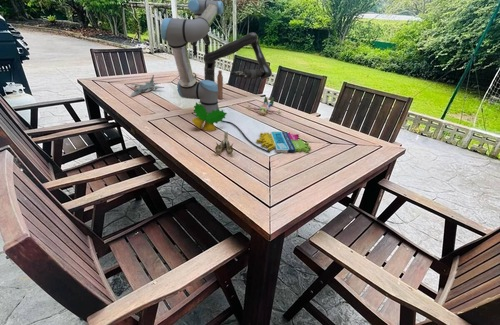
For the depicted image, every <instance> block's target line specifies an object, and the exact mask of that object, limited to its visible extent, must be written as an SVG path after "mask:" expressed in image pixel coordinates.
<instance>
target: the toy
mask: <svg viewBox="0 0 500 325" xmlns="http://www.w3.org/2000/svg"><path fill="white" fill-rule="evenodd" d="M274 100H275V98H274V97H271V98H270V101H268V97H267V96H266V95H265V96H264V99H263V104H261V105H260V107H251V106H250V105H248V106H246V110H254V111H258V112H257V113H258V114H259V115H261V116H265V115H267V112H270V113H276V114H279V115H282V113H283V111H281V109H278V110H274V109H270V107H271V106H273V105H274V102H275V101H274Z"/></svg>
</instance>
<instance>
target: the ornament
mask: <svg viewBox="0 0 500 325" xmlns="http://www.w3.org/2000/svg"><path fill="white" fill-rule="evenodd" d="M219 110H220V108H219V109H217V110H216V111H214V110H212V112H211V113H208V112H206V109H204V106H201V103H198V102H195V105H194V106H193V112H194V113H195V118H192V119H191V122H192V123H193V125H195V127H197V128H198V129H202V130H203V131H206V132H212V131H213V132H214V131H215V130H216V126H215V124H218V123H219V122H222V121H223V119H226V115H227V114H228V113H227V112H224V110H223V109H221V110H220V111H219ZM207 113H208V115H207ZM214 123H215V124H214ZM222 123H223V122H222Z"/></svg>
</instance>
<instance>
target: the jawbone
mask: <svg viewBox="0 0 500 325" xmlns="http://www.w3.org/2000/svg"><path fill="white" fill-rule="evenodd" d="M223 135H224V136H223V140H222V139H221V142H220V144H218V142H215V144H216V146H215V148H214V149H215V152H214V154H215V155H217V156H218V155H220V153H221V152H223V151H224V150H226V152H227V153H228V155H229V156H233V155H234V154H233V153H234V148H233V144H234V143H230V140H228V139H229V138H228V137H229V136H228V135H229V133H228V131H226V132H224V134H223Z"/></svg>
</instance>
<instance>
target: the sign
mask: <svg viewBox="0 0 500 325" xmlns="http://www.w3.org/2000/svg"><path fill="white" fill-rule="evenodd" d="M299 136H300V135H299V134H298V133H296V134H294V133H291V132H287V131H270V132H264V133H263V132H260V133H259V139H258V138H257V139H256V143H257V144H261V148H263V147H264V149H267V150H268V151H270V152H271V151H272V150H273V149H275V152H276V153H283V154H285V153H287V154H288V153H290V154H293V153H296V152H298V153H301V152H305V153H310V151H311V150H312V149H311V148H312V146H309V142H304V141H303V139H302V138H299Z"/></svg>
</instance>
